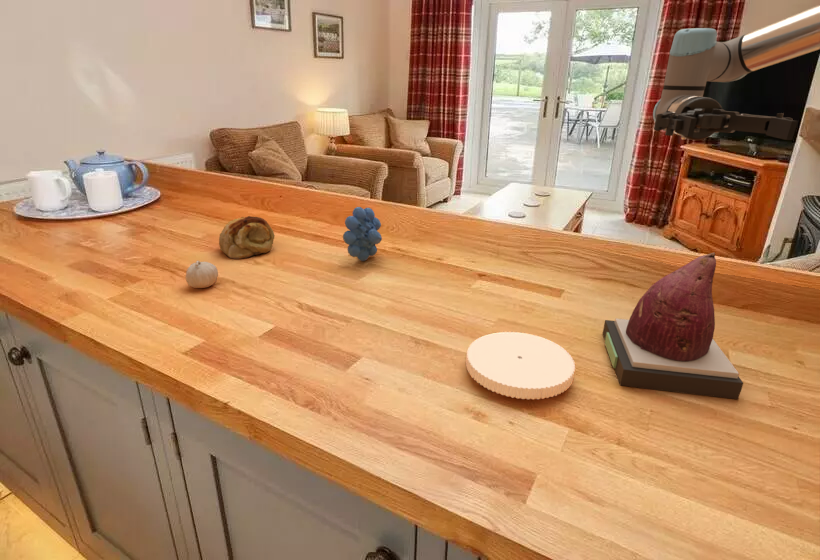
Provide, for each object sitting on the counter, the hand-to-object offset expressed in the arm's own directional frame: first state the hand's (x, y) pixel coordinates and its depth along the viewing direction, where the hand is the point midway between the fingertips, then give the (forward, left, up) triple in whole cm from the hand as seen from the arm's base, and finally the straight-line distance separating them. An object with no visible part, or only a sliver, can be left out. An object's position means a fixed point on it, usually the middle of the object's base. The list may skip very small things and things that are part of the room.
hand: (741, 129), depth 73 cm
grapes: (+61, -9, -30) cm, 69 cm away
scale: (+10, +20, -30) cm, 37 cm away
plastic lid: (+30, +27, -30) cm, 50 cm away
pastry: (+89, -11, -30) cm, 95 cm away
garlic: (+87, +10, -30) cm, 93 cm away
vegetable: (+10, +19, -27) cm, 35 cm away
